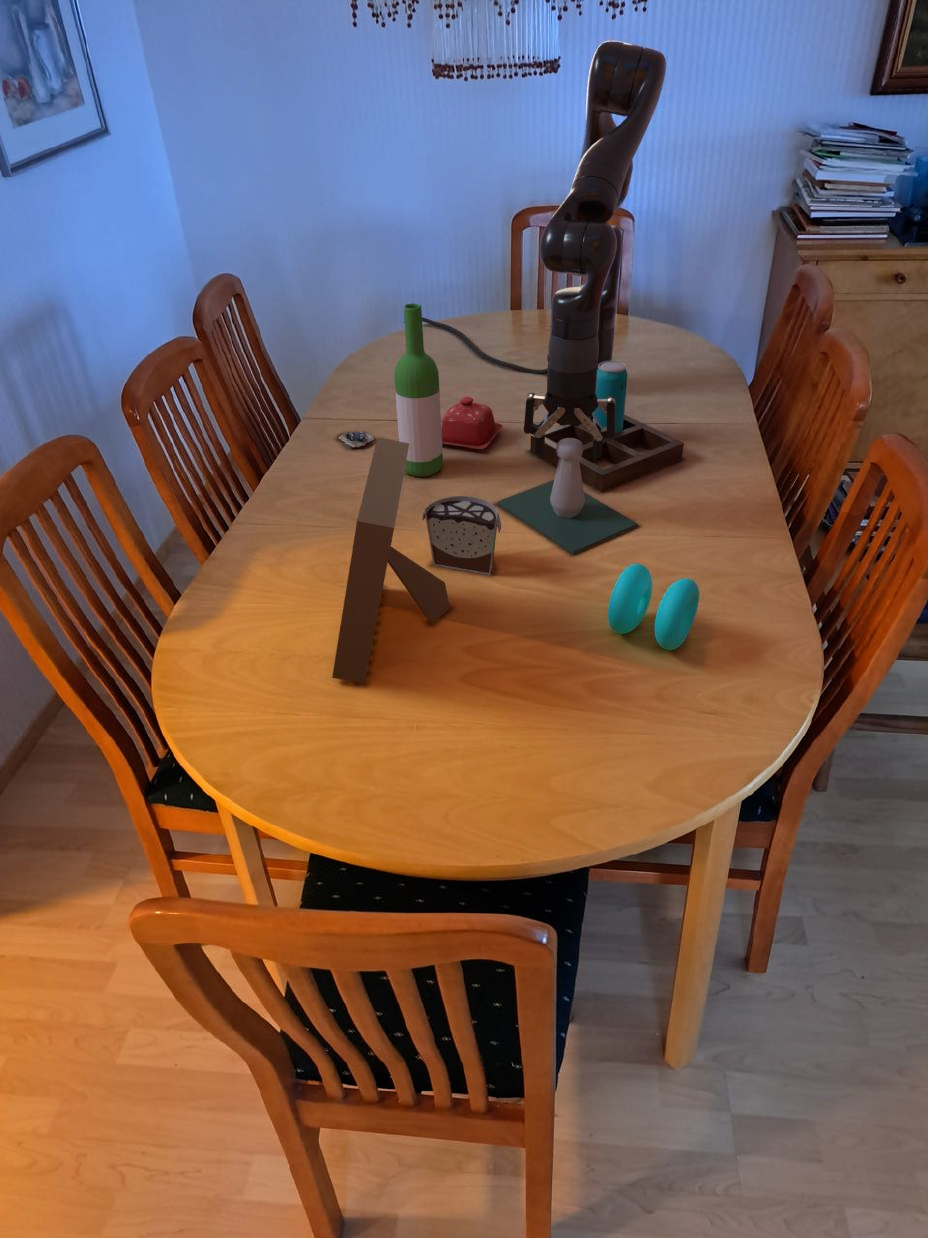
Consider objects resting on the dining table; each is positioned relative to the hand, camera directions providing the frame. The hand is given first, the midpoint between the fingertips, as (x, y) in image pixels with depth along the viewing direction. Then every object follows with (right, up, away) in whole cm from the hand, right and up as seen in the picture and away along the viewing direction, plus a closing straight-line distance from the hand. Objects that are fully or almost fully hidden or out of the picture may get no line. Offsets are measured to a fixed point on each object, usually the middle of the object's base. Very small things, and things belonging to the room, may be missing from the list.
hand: (567, 457), depth 146 cm
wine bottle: (-25, +2, +21) cm, 32 cm away
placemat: (0, -9, +6) cm, 11 cm away
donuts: (+9, -28, -20) cm, 36 cm away
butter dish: (-16, +9, +31) cm, 36 cm away
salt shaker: (+1, -8, +6) cm, 10 cm away
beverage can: (+11, +8, +28) cm, 31 cm away
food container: (-16, -17, -4) cm, 24 cm away
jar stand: (+10, +5, +23) cm, 26 cm away
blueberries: (-38, +9, +31) cm, 50 cm away
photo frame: (-26, -28, -18) cm, 43 cm away
